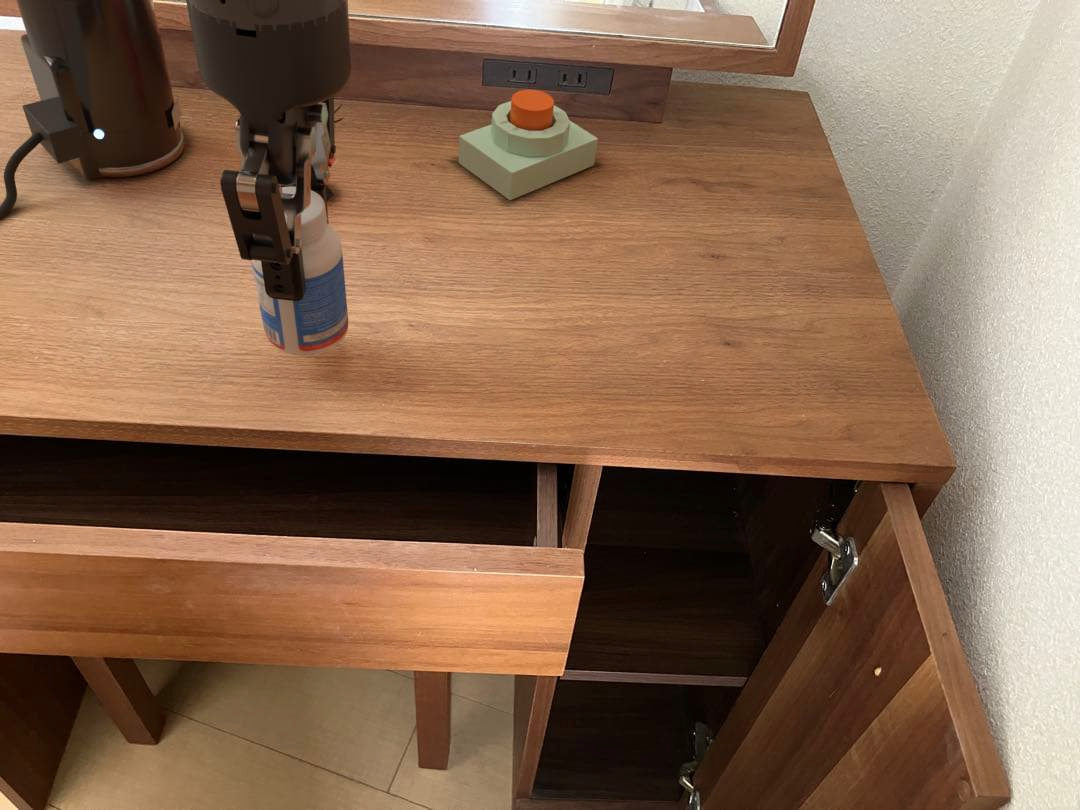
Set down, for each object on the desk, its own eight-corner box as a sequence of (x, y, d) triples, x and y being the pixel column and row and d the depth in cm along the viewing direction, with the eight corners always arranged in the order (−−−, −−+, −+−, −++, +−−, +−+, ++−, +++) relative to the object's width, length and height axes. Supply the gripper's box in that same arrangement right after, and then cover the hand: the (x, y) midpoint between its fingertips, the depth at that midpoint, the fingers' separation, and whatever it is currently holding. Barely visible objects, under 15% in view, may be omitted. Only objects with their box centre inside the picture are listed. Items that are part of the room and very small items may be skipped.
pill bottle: (358, 310, 61) (350, 187, 54) (336, 364, 57) (325, 240, 50) (278, 298, 61) (260, 173, 54) (251, 351, 57) (228, 225, 50)
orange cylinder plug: (529, 137, 75) (531, 114, 73) (501, 118, 77) (502, 96, 75) (560, 125, 77) (563, 103, 75) (532, 107, 78) (534, 85, 77)
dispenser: (509, 200, 75) (513, 153, 72) (458, 163, 79) (459, 116, 76) (594, 165, 81) (601, 119, 77) (542, 131, 84) (547, 86, 81)
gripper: (232, -80, 48) (269, 192, 60) (130, 39, 38) (199, 336, 50) (374, -62, 48) (381, 206, 60) (309, 62, 38) (334, 352, 50)
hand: (299, 264), depth 55 cm, fingers closed on pill bottle, 5 cm apart
